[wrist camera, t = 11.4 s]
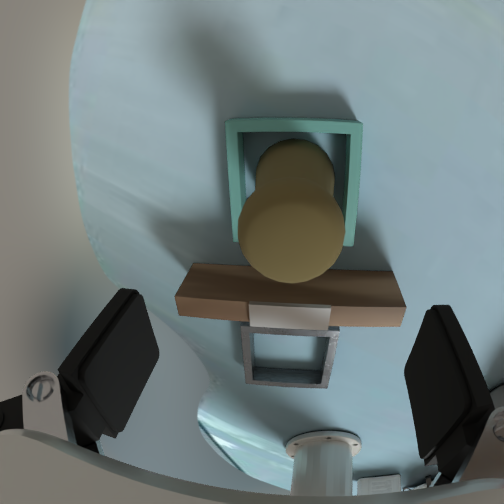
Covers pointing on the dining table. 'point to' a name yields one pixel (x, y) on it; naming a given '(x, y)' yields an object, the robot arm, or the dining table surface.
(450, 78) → the dining table surface
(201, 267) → the door edge
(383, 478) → the photo printer
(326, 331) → the collar
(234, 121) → the collar
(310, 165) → the cork
